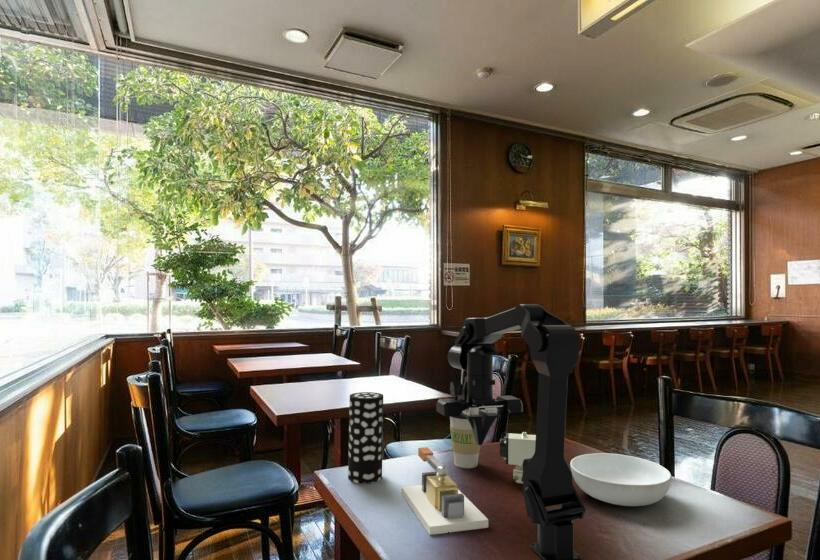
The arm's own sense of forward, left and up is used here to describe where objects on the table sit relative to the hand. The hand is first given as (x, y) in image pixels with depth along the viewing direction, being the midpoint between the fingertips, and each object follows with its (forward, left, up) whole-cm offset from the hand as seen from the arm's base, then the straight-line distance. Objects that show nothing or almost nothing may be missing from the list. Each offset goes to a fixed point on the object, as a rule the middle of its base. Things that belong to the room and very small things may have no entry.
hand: (479, 444), depth 109 cm
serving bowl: (-7, -31, -12) cm, 34 cm away
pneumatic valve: (+7, -15, -12) cm, 21 cm away
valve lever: (+3, +10, -6) cm, 12 cm away
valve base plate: (-3, +10, -12) cm, 16 cm away
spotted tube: (+19, +22, -12) cm, 31 cm away
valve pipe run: (-3, +10, -10) cm, 15 cm away
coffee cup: (+22, -6, -12) cm, 26 cm away
